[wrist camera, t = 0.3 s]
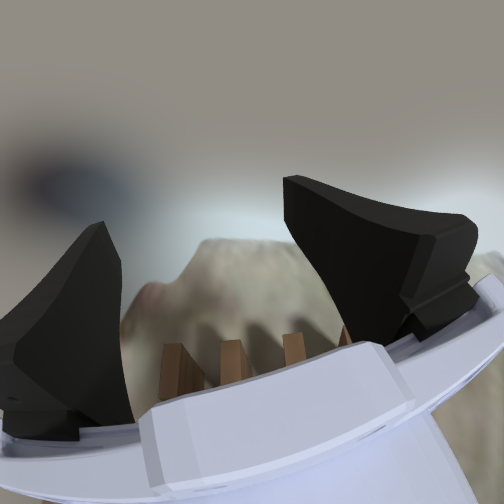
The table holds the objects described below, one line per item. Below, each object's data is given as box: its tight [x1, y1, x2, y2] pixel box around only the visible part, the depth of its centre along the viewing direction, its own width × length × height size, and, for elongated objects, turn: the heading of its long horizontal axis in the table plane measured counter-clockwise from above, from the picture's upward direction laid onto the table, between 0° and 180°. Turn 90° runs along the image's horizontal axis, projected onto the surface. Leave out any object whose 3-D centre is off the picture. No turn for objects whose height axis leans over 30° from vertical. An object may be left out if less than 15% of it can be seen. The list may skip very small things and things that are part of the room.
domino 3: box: [283, 332, 307, 367], centre depth 22 cm, size 2×5×7 cm, turn 3°
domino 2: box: [220, 339, 252, 386], centre depth 23 cm, size 2×5×7 cm, turn 3°
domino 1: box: [158, 343, 204, 401], centre depth 23 cm, size 2×5×7 cm, turn 2°
